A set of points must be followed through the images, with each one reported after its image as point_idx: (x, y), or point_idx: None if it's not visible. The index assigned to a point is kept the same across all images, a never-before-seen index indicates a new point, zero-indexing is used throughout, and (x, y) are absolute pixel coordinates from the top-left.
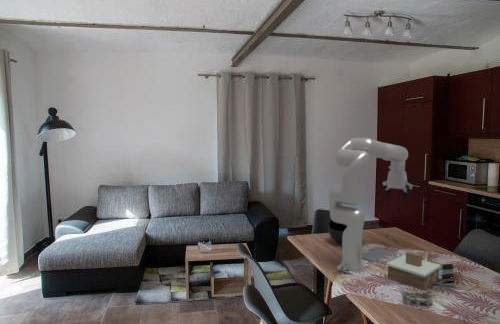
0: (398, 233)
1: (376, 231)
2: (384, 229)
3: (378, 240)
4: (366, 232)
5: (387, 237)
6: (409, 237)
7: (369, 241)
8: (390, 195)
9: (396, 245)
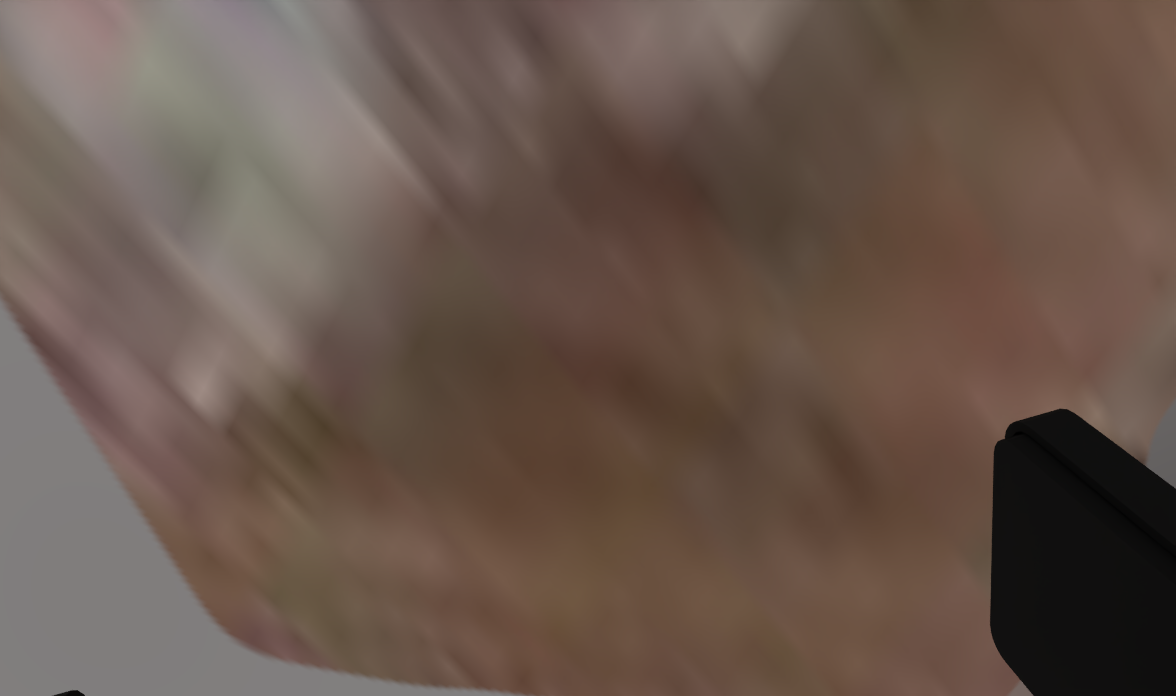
0: (817, 653)
1: None
2: None
3: (810, 230)
4: (1089, 357)
5: (810, 433)
6: (654, 652)
7: (862, 75)
8: (1021, 679)
9: (540, 276)
